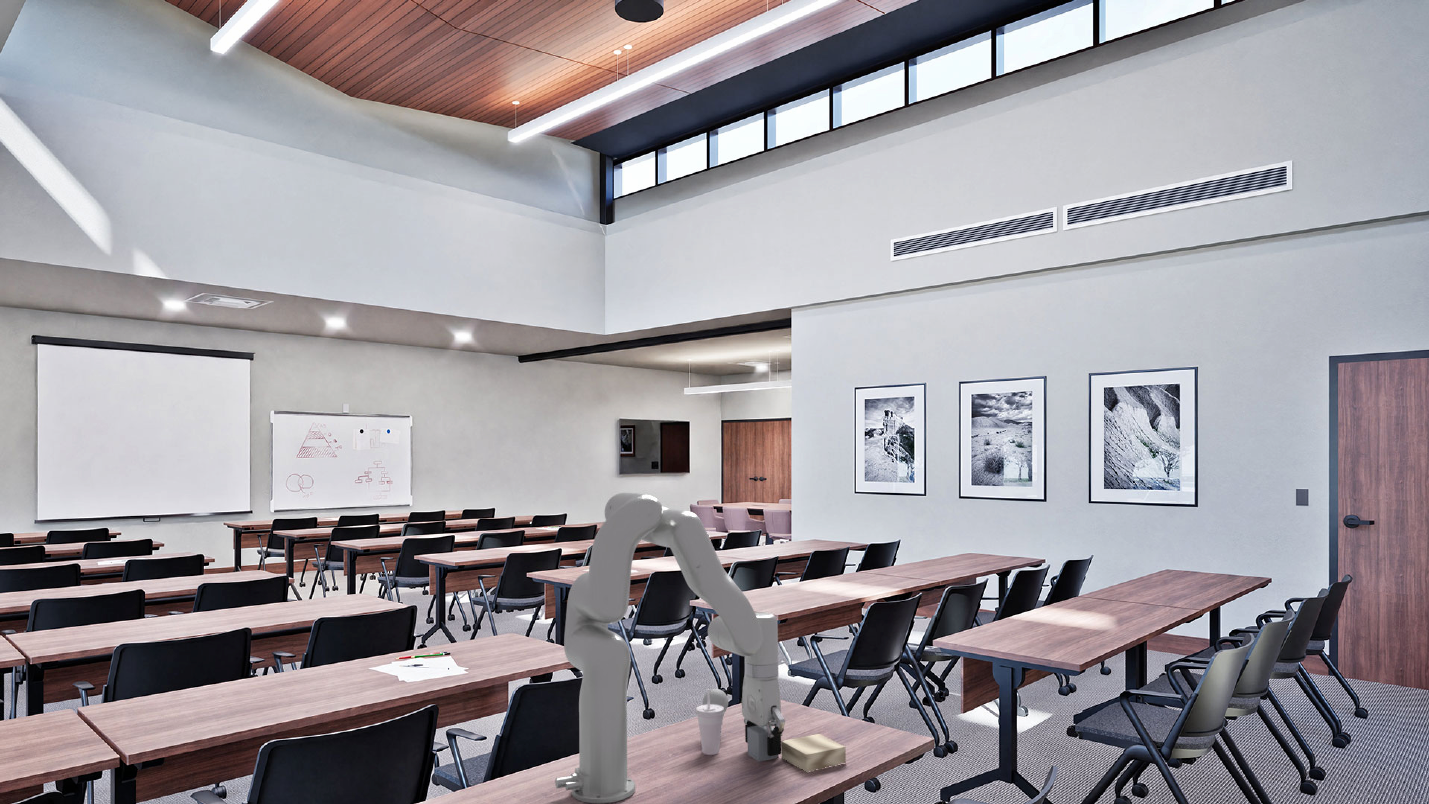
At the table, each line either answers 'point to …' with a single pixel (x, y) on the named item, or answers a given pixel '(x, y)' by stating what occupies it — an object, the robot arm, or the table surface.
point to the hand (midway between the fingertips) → (763, 748)
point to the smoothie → (710, 726)
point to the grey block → (758, 743)
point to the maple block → (813, 752)
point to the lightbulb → (717, 699)
